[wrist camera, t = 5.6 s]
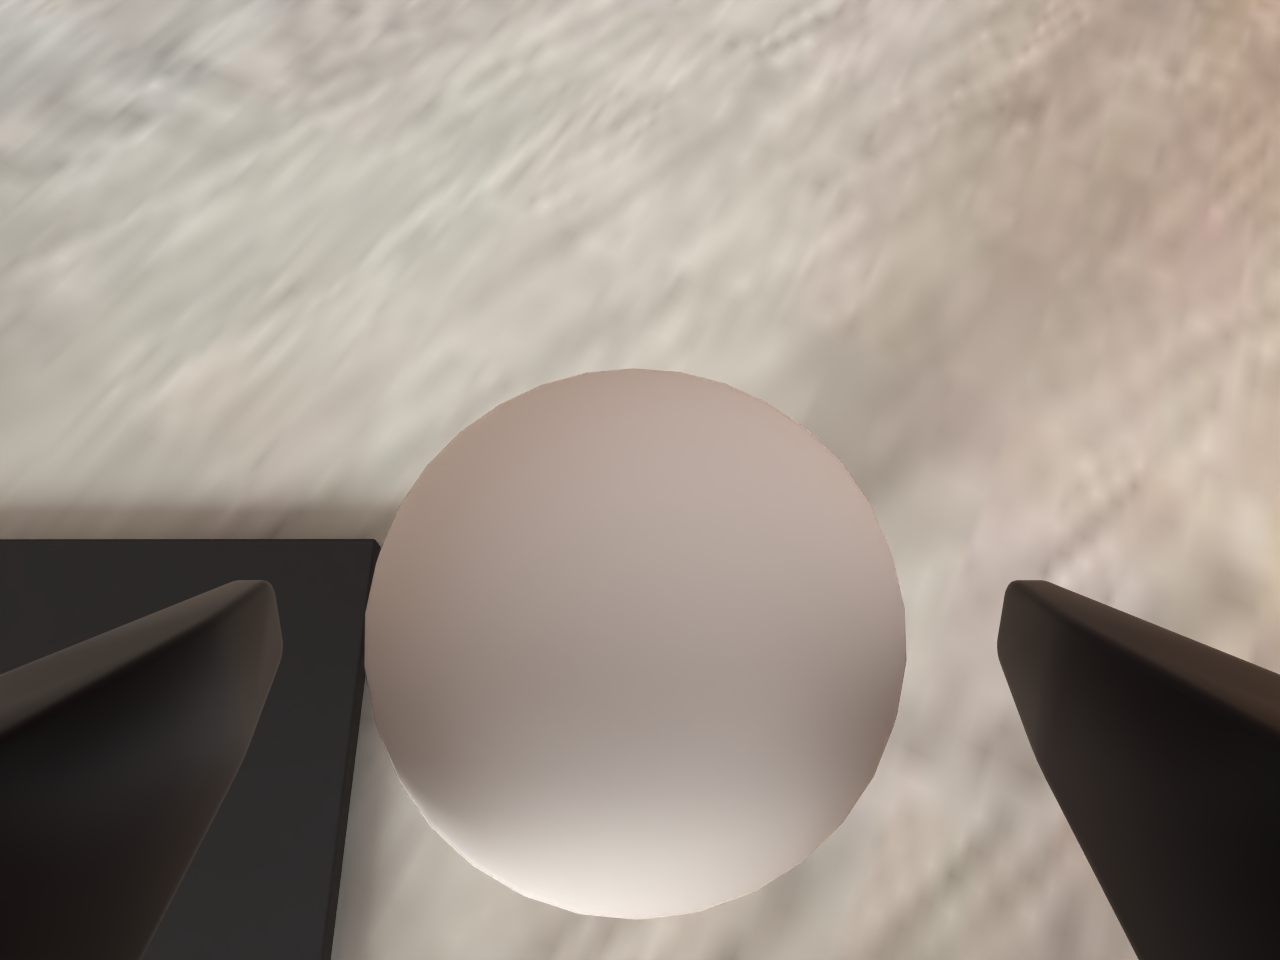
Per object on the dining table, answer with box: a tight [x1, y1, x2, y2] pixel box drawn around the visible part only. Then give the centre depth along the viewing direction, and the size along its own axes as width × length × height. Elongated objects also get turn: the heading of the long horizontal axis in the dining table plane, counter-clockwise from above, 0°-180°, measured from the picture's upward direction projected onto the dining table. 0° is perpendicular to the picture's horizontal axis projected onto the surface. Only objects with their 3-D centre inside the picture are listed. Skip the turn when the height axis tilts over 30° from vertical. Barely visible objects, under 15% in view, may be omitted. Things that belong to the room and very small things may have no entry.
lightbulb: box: [364, 369, 906, 920], centre depth 13 cm, size 6×6×11 cm
